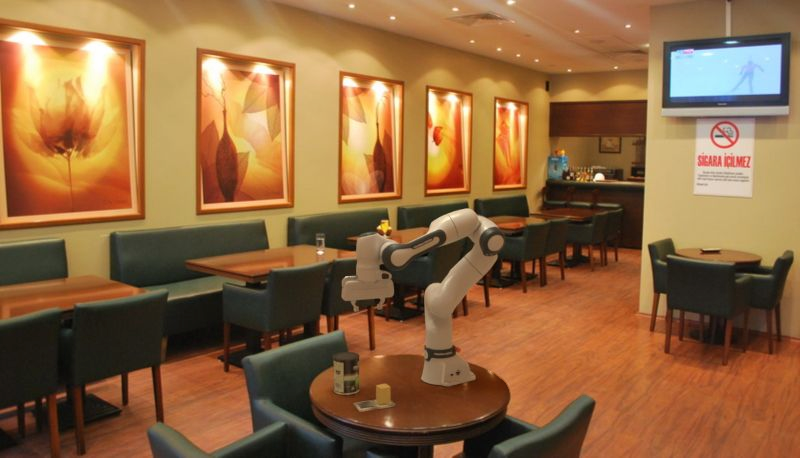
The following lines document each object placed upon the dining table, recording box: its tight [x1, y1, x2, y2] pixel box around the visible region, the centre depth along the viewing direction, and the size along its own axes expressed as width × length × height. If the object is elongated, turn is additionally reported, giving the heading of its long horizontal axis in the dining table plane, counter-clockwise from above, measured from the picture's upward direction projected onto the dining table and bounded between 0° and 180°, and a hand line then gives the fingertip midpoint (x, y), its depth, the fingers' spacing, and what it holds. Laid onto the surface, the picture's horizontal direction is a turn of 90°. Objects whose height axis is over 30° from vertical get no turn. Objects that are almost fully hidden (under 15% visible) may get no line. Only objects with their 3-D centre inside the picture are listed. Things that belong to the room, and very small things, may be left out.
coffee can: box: [332, 351, 360, 396], centre depth 256 cm, size 10×10×14 cm
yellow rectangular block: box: [375, 383, 392, 404], centre depth 242 cm, size 4×4×6 cm
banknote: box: [352, 399, 396, 413], centre depth 242 cm, size 14×7×1 cm, turn 112°
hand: (368, 310), depth 250 cm, fingers open, 8 cm apart
